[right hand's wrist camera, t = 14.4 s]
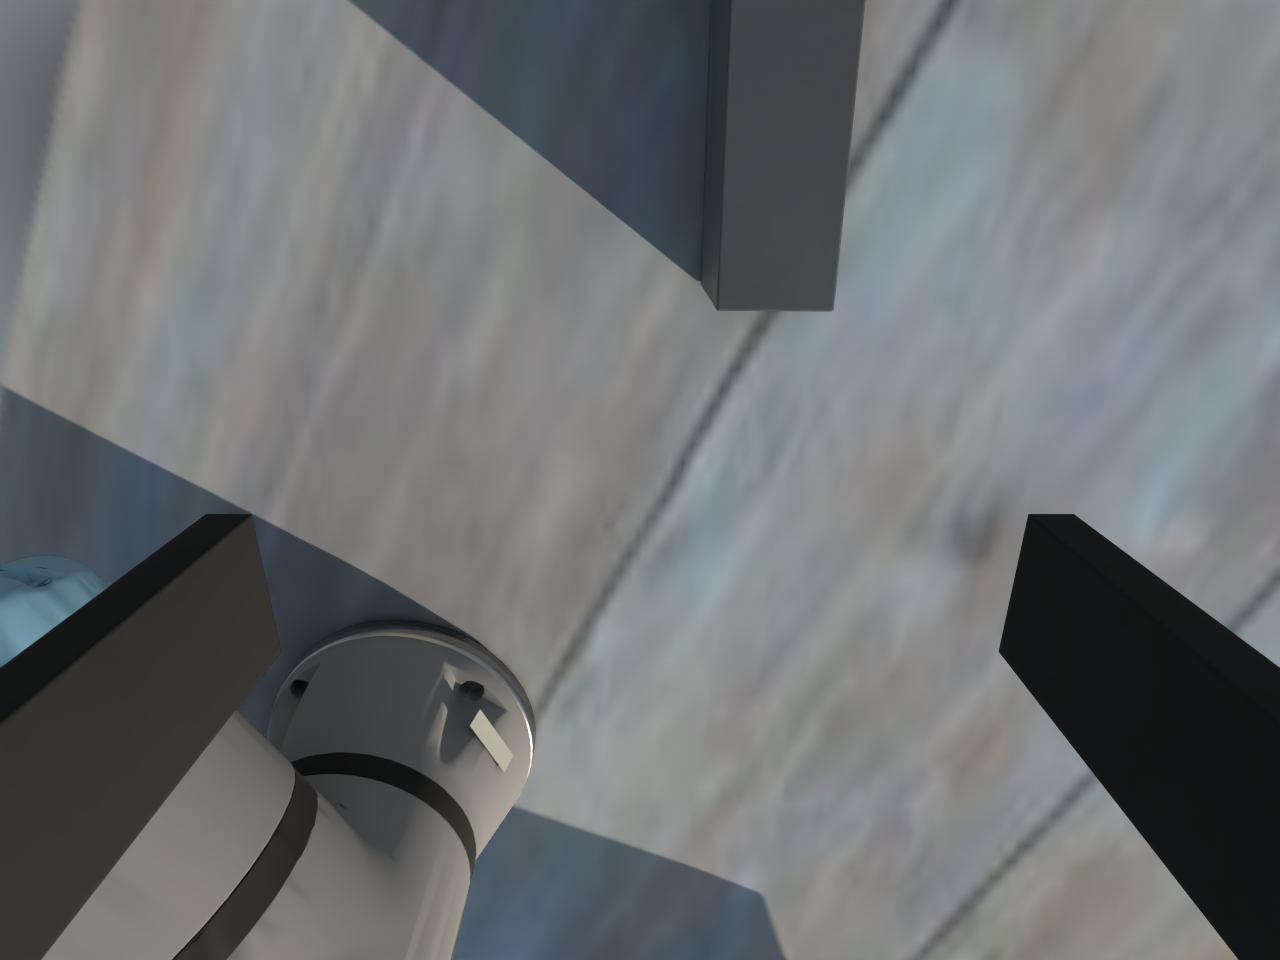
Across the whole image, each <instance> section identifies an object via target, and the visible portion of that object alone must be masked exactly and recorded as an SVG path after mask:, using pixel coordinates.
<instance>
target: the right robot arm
mask: <svg viewBox="0 0 1280 960" xmlns="http://www.w3.org/2000/svg"><path fill="white" fill-rule="evenodd" d="M280 653H281V648H280V643H279V639H278V634H277V629H276V625H275V620H274V616H273V611H272V606H271V602H270V597H269V593H268V588H267V583H266V579H265V574H264V569H263V565H262V560H261V556H260V551H259V546H258V542H257V537H256V533H255V528H254V523H253V519H252V514H206V515H204V516H203V517H202V518H200V519H199V520H198V521H196V522H195V523H194V524H192V525H191V526H190V527H188V528H187V529H186V530H184V531H183V532H182V533H180V534H179V535H178V536H176V537H175V538H174V539H172V540H171V541H170V542H168V543H167V544H165V545H164V546H163V547H161V548H160V549H159V550H157V551H156V552H155V553H153V554H152V555H151V556H149V557H148V558H147V559H145V560H144V561H143V562H141V563H140V564H139V565H137V566H136V567H135V568H133V569H132V570H131V571H129V572H128V573H127V574H125V575H124V576H123V577H121V578H120V579H119V580H117V581H116V582H115V583H113V584H112V585H109V584H108V583H107V582H106V581H105V580H104V579H102V578H101V577H100V576H99V575H98V574H97V573H96V572H95V571H93V570H92V569H90V568H89V567H88V566H86V565H84V564H82V563H80V562H78V561H75V560H72V559H69V558H65V557H60V556H48V555H44V556H32V557H27V558H22V559H18V560H14V561H11V562H8V563H5V564H2V565H0V960H453V956H454V952H455V947H456V943H457V939H458V934H459V930H460V925H461V921H462V917H463V912H464V908H465V903H466V899H467V895H468V890H469V886H470V881H471V877H472V873H473V869H474V866H475V862H476V859H477V858H478V856H479V855H480V853H481V852H482V850H483V849H484V847H485V846H486V845H487V843H488V842H489V840H490V839H491V837H492V836H493V834H494V833H495V831H496V830H497V828H498V827H499V825H500V824H501V822H502V821H503V820H504V818H505V817H506V815H507V814H508V812H509V811H510V809H511V808H512V806H513V805H514V803H515V802H516V800H517V798H518V797H519V795H520V793H521V791H522V789H523V786H524V785H525V782H526V780H527V777H528V775H529V771H530V767H531V763H532V757H533V752H534V747H535V739H536V728H535V720H534V715H533V711H532V707H531V705H530V702H529V699H528V697H527V695H526V693H525V691H524V689H523V687H522V686H521V684H520V683H519V681H518V680H517V678H516V677H515V676H514V675H513V673H512V672H511V671H510V670H509V669H508V668H507V666H506V665H505V664H504V663H503V662H502V661H501V660H499V659H498V658H497V657H496V656H495V655H494V654H492V653H491V652H490V651H488V650H487V649H485V648H484V647H483V646H481V645H479V644H478V643H476V642H474V641H473V640H471V639H469V638H467V637H465V636H463V635H461V634H459V633H456V632H453V631H451V630H448V629H445V628H442V627H439V626H435V625H431V624H426V623H422V622H414V621H403V620H385V621H375V622H368V623H363V624H359V625H355V626H352V627H349V628H345V629H343V630H341V631H338V632H336V633H334V634H332V635H330V636H328V637H327V638H325V639H323V640H322V641H320V642H319V643H318V644H316V645H315V646H314V647H312V648H311V649H310V650H309V651H308V652H307V653H306V654H305V655H304V656H303V657H302V659H301V660H300V661H299V662H298V664H297V665H296V666H295V668H294V669H293V670H292V672H291V673H290V675H289V676H288V677H287V679H286V680H285V682H284V683H283V685H282V687H281V689H280V691H279V693H278V695H277V697H276V700H275V703H274V705H273V708H272V711H271V714H270V719H269V724H268V729H267V733H266V738H265V737H264V736H263V735H262V734H261V733H260V732H259V731H258V730H257V729H256V728H255V727H254V726H253V725H252V724H251V723H250V722H249V721H248V720H247V719H246V718H245V717H244V716H243V715H242V714H241V713H240V712H239V711H238V710H237V708H238V707H239V705H240V704H241V703H242V701H243V700H244V699H245V698H246V696H247V695H248V694H249V692H250V691H251V690H252V689H253V687H254V686H255V685H256V683H257V682H258V681H259V680H260V678H261V677H262V676H263V674H264V673H265V672H266V671H267V669H268V668H269V667H270V665H271V664H272V663H273V662H274V660H275V659H276V658H277V656H278V655H279V654H280ZM999 653H1000V654H1001V655H1002V656H1003V658H1004V659H1005V660H1006V662H1007V663H1008V664H1009V665H1010V667H1011V668H1012V669H1013V671H1014V672H1015V673H1016V674H1017V676H1018V677H1019V678H1020V680H1021V681H1022V682H1023V683H1024V685H1025V686H1026V687H1027V689H1028V690H1029V691H1030V692H1031V694H1032V695H1033V696H1034V698H1035V699H1036V700H1037V701H1038V703H1039V704H1040V705H1041V707H1042V708H1043V709H1044V710H1045V712H1046V713H1047V714H1048V716H1049V717H1050V718H1051V719H1052V721H1053V722H1054V723H1055V725H1056V726H1057V727H1058V728H1059V730H1060V731H1061V732H1062V734H1063V735H1064V736H1065V737H1066V739H1067V740H1068V741H1069V743H1070V744H1071V745H1072V746H1073V748H1074V749H1075V750H1076V751H1077V753H1078V754H1079V755H1080V757H1081V758H1082V759H1083V760H1084V762H1085V763H1086V764H1087V766H1088V767H1089V768H1090V769H1091V771H1092V772H1093V773H1094V775H1095V776H1096V777H1097V778H1098V780H1099V781H1100V782H1101V784H1102V785H1103V786H1104V787H1105V789H1106V790H1107V791H1108V793H1109V794H1110V795H1111V796H1112V798H1113V799H1114V800H1115V802H1116V803H1117V804H1118V805H1119V807H1120V808H1121V809H1122V811H1123V812H1124V813H1125V814H1126V816H1127V817H1128V818H1129V820H1130V821H1131V822H1132V823H1133V825H1134V826H1135V827H1136V829H1137V830H1138V831H1139V832H1140V834H1141V835H1142V836H1143V838H1144V839H1145V840H1146V841H1147V843H1148V844H1149V845H1150V847H1151V848H1152V849H1153V850H1154V852H1155V853H1156V854H1157V856H1158V857H1159V858H1160V859H1161V861H1162V862H1163V863H1164V865H1165V866H1166V867H1167V868H1168V870H1169V871H1170V872H1171V874H1172V875H1173V876H1174V877H1175V879H1176V880H1177V881H1178V883H1179V884H1180V885H1181V886H1182V888H1183V889H1184V890H1185V891H1186V893H1187V894H1188V895H1189V897H1190V898H1191V899H1192V900H1193V902H1194V903H1195V904H1196V906H1197V907H1198V908H1199V909H1200V911H1201V912H1202V913H1203V915H1204V916H1205V917H1206V918H1207V920H1208V921H1209V922H1210V924H1211V925H1212V926H1213V927H1214V929H1215V930H1216V931H1217V933H1218V934H1219V935H1220V936H1221V938H1222V939H1223V940H1224V942H1225V943H1226V944H1227V945H1228V947H1229V948H1230V949H1231V951H1232V952H1233V953H1234V954H1235V956H1236V957H1237V958H1238V960H1280V667H1278V666H1277V665H1276V664H1274V663H1273V662H1271V661H1270V660H1269V659H1267V658H1266V657H1265V656H1263V655H1262V654H1261V653H1259V652H1258V651H1257V650H1255V649H1254V648H1253V647H1251V646H1250V645H1249V644H1247V643H1246V642H1245V641H1243V640H1242V639H1241V638H1239V637H1238V636H1237V635H1235V634H1234V633H1233V632H1231V631H1230V630H1229V629H1227V628H1226V627H1225V626H1223V625H1222V624H1221V623H1219V622H1218V621H1216V620H1215V619H1214V618H1212V617H1211V616H1210V615H1208V614H1207V613H1206V612H1204V611H1203V610H1202V609H1200V608H1199V607H1198V606H1196V605H1195V604H1194V603H1192V602H1191V601H1190V600H1188V599H1187V598H1186V597H1184V596H1183V595H1182V594H1180V593H1179V592H1178V591H1176V590H1175V589H1174V588H1172V587H1171V586H1170V585H1168V584H1167V583H1165V582H1164V581H1163V580H1161V579H1160V578H1159V577H1157V576H1156V575H1155V574H1153V573H1152V572H1151V571H1149V570H1148V569H1147V568H1145V567H1144V566H1143V565H1141V564H1140V563H1139V562H1137V561H1136V560H1135V559H1133V558H1132V557H1131V556H1129V555H1128V554H1127V553H1125V552H1124V551H1123V550H1121V549H1120V548H1119V547H1117V546H1116V545H1115V544H1113V543H1112V542H1110V541H1109V540H1108V539H1106V538H1105V537H1104V536H1102V535H1101V534H1100V533H1098V532H1097V531H1096V530H1094V529H1093V528H1092V527H1090V526H1089V525H1088V524H1086V523H1085V522H1084V521H1082V520H1081V519H1080V518H1078V517H1077V516H1076V515H1074V514H1028V519H1027V523H1026V528H1025V533H1024V537H1023V542H1022V546H1021V551H1020V556H1019V560H1018V565H1017V569H1016V574H1015V579H1014V583H1013V588H1012V593H1011V597H1010V602H1009V606H1008V611H1007V616H1006V620H1005V625H1004V629H1003V634H1002V639H1001V643H1000V648H999Z"/></svg>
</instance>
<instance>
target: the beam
mask: <svg viewBox="0 0 1280 960" xmlns="http://www.w3.org/2000/svg"><path fill="white" fill-rule="evenodd" d="M864 10H865V0H711V3H710V32H709V60H708V89H707V117H706V146H705V174H704V203H703V231H702V259H701V285H702V287H703V288H704V290H705V292H706V293H707V295H708V296H709V298H710V300H711V301H712V303H713V304H714V306H715V308H716V309H717V310H718V311H833V310H834V302H835V292H836V283H837V273H838V263H839V253H840V244H841V234H842V224H843V214H844V205H845V195H846V185H847V175H848V166H849V156H850V146H851V136H852V127H853V117H854V107H855V97H856V88H857V78H858V68H859V58H860V49H861V39H862V29H863V19H864Z"/></svg>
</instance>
